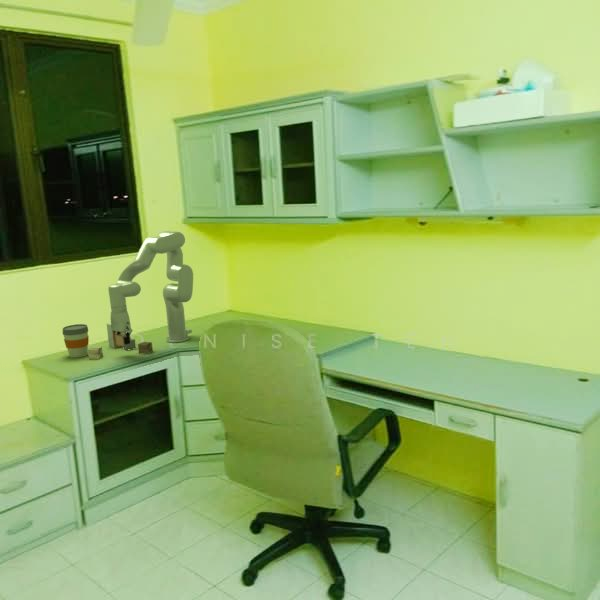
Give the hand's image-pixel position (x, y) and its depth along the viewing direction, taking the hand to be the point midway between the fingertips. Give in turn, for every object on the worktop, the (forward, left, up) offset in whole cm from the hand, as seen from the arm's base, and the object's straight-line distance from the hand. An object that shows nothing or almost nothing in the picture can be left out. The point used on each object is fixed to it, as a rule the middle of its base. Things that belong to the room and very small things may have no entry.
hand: (123, 343), depth 304 cm
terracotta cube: (0, 0, -1) cm, 1 cm away
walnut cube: (-9, +5, -7) cm, 13 cm away
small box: (-11, -19, -7) cm, 23 cm away
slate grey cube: (-10, -9, -7) cm, 15 cm away
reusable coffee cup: (+10, -25, -7) cm, 28 cm away
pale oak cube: (+9, -12, -7) cm, 16 cm away
